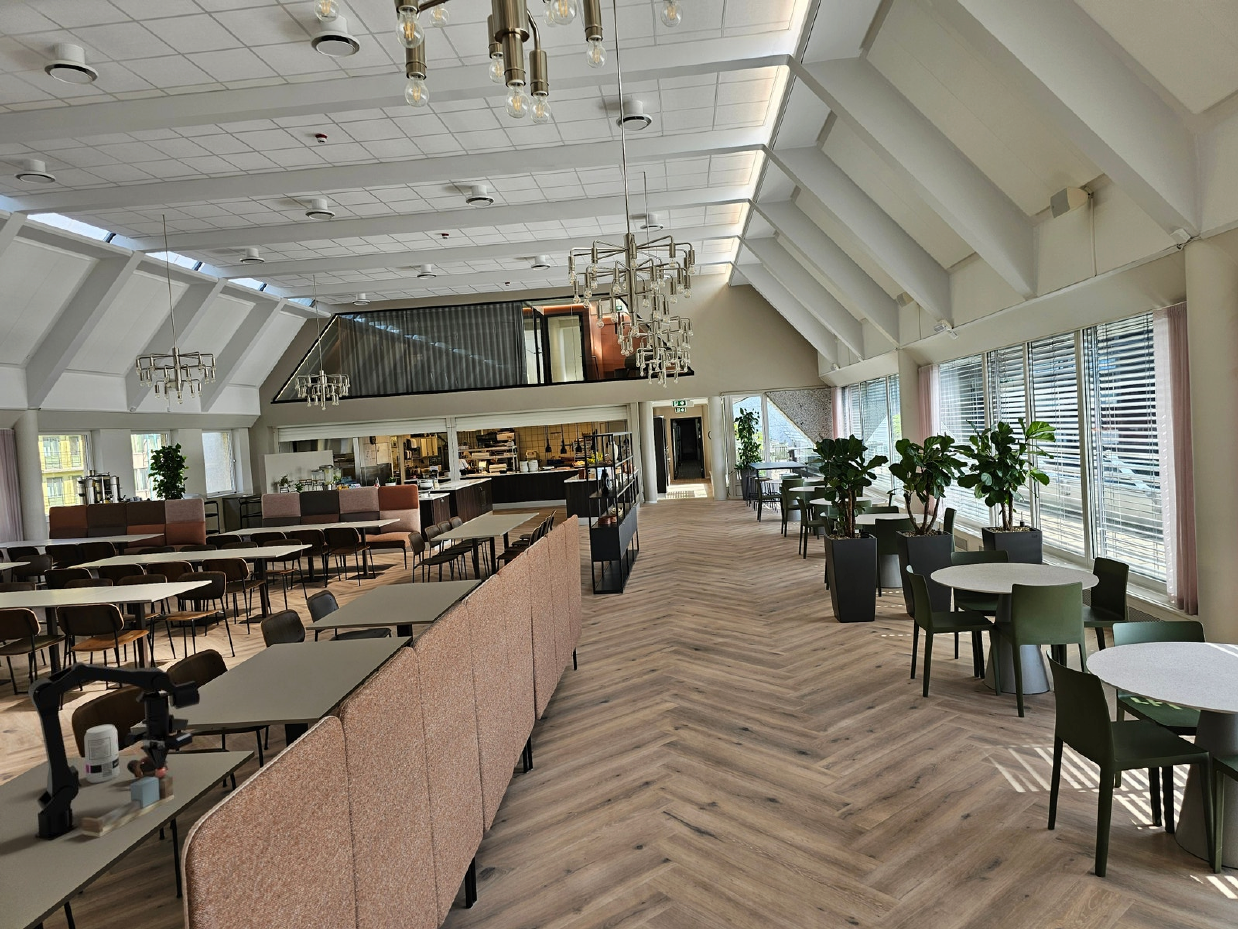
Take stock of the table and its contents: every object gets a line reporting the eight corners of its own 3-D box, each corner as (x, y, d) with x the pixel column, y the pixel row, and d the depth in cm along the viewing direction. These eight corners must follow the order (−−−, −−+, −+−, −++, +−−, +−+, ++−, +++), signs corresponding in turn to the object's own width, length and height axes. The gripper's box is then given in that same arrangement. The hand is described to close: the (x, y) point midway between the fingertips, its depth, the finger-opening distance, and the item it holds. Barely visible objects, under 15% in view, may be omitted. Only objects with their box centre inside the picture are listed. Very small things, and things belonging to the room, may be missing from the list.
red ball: (160, 778, 213) (159, 771, 213) (153, 777, 214) (153, 770, 214) (167, 774, 216) (167, 767, 216) (161, 774, 216) (160, 767, 216)
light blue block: (143, 807, 207) (142, 785, 207) (131, 806, 208) (130, 784, 208) (159, 799, 212) (158, 778, 212) (147, 798, 213) (146, 776, 213)
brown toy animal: (175, 772, 235) (174, 753, 231) (158, 798, 227) (156, 779, 223) (135, 764, 234) (134, 746, 230) (116, 791, 226) (114, 772, 222)
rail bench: (100, 837, 194) (98, 813, 194) (82, 834, 196) (81, 810, 196) (175, 797, 216) (174, 775, 216) (159, 795, 218) (158, 773, 218)
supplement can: (79, 782, 229) (77, 732, 228) (105, 771, 237) (103, 722, 236) (100, 785, 226) (97, 734, 226) (126, 773, 234) (123, 724, 234)
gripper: (207, 706, 219) (209, 760, 220) (156, 702, 225) (159, 755, 225) (173, 720, 209) (176, 777, 209) (121, 715, 214) (124, 770, 215)
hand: (160, 769), depth 215 cm, fingers closed, pressing on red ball
